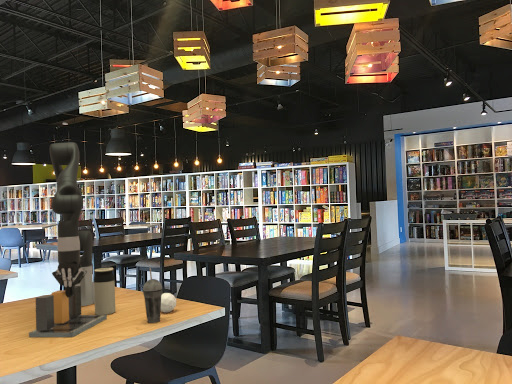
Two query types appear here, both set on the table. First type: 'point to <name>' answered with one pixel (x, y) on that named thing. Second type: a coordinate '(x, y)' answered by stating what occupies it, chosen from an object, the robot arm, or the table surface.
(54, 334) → the panel
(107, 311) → the travel mug
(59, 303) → the handle
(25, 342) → the table surface
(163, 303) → the geometric ball
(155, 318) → the beverage cup
